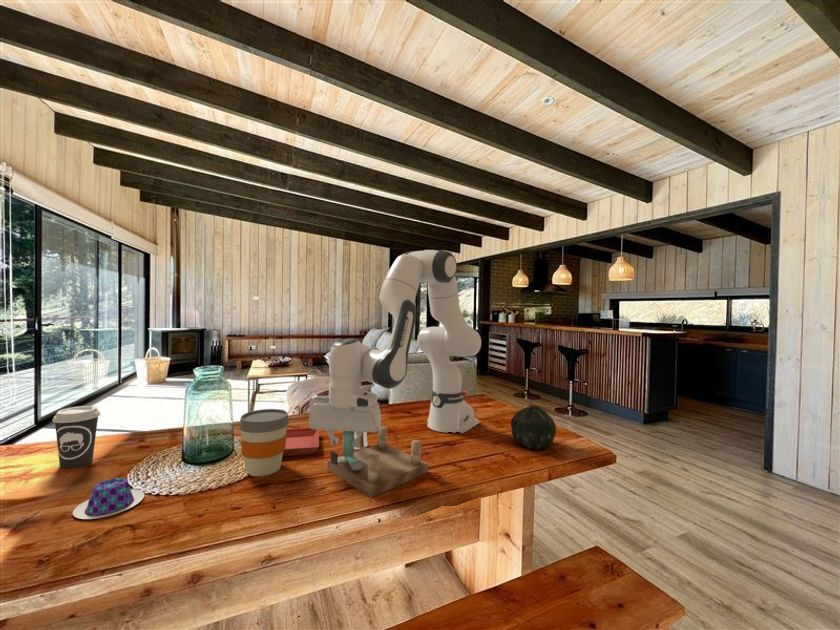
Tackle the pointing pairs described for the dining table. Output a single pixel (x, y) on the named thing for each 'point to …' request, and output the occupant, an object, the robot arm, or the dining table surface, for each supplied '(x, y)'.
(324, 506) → the dining table surface
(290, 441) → the plant saucer
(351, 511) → the dining table surface
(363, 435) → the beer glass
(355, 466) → the folding leg
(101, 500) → the purple patterned hat
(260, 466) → the reusable coffee cup
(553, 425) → the squash
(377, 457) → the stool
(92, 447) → the coffee cup
